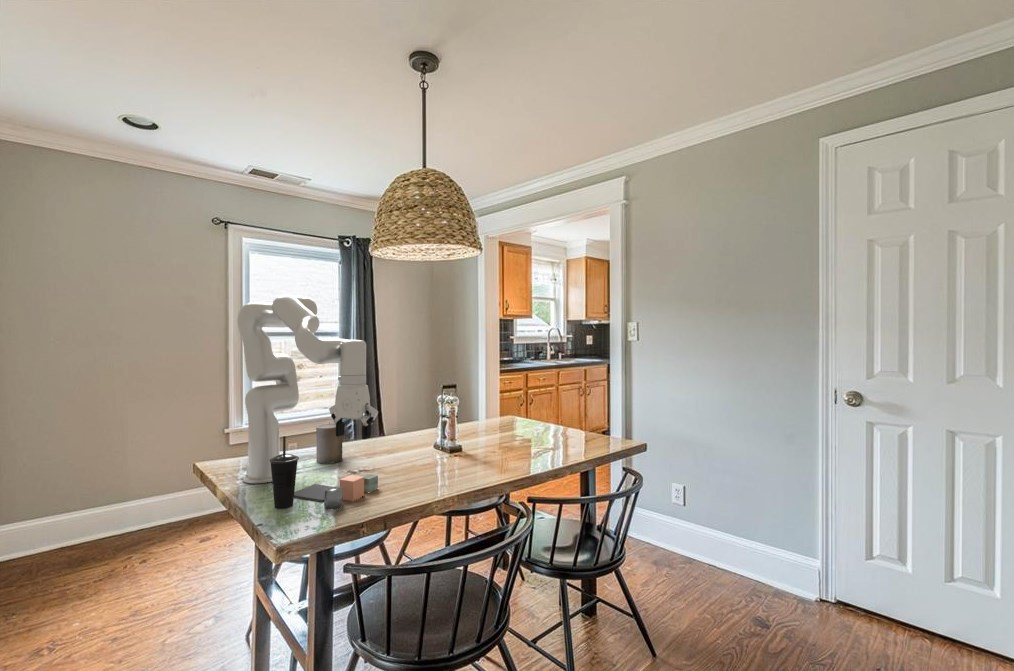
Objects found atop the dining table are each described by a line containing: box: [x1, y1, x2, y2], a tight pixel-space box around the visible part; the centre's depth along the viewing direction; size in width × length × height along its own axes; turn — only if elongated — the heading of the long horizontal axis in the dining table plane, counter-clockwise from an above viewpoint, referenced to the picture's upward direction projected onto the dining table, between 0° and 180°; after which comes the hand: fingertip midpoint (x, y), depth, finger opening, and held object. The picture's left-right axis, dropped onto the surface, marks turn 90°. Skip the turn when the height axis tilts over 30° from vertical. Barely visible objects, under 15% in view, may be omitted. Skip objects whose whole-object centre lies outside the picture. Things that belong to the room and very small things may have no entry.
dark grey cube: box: [323, 485, 344, 510], centre depth 139 cm, size 5×5×5 cm
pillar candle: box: [315, 421, 344, 465], centre depth 188 cm, size 10×10×15 cm
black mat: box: [294, 483, 333, 503], centre depth 150 cm, size 13×11×1 cm
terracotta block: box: [339, 474, 365, 502], centre depth 147 cm, size 5×5×6 cm
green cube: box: [361, 473, 379, 493], centre depth 154 cm, size 4×4×4 cm
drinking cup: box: [269, 435, 299, 510], centre depth 139 cm, size 8×8×20 cm
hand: (353, 436), depth 146 cm, fingers open, 9 cm apart
